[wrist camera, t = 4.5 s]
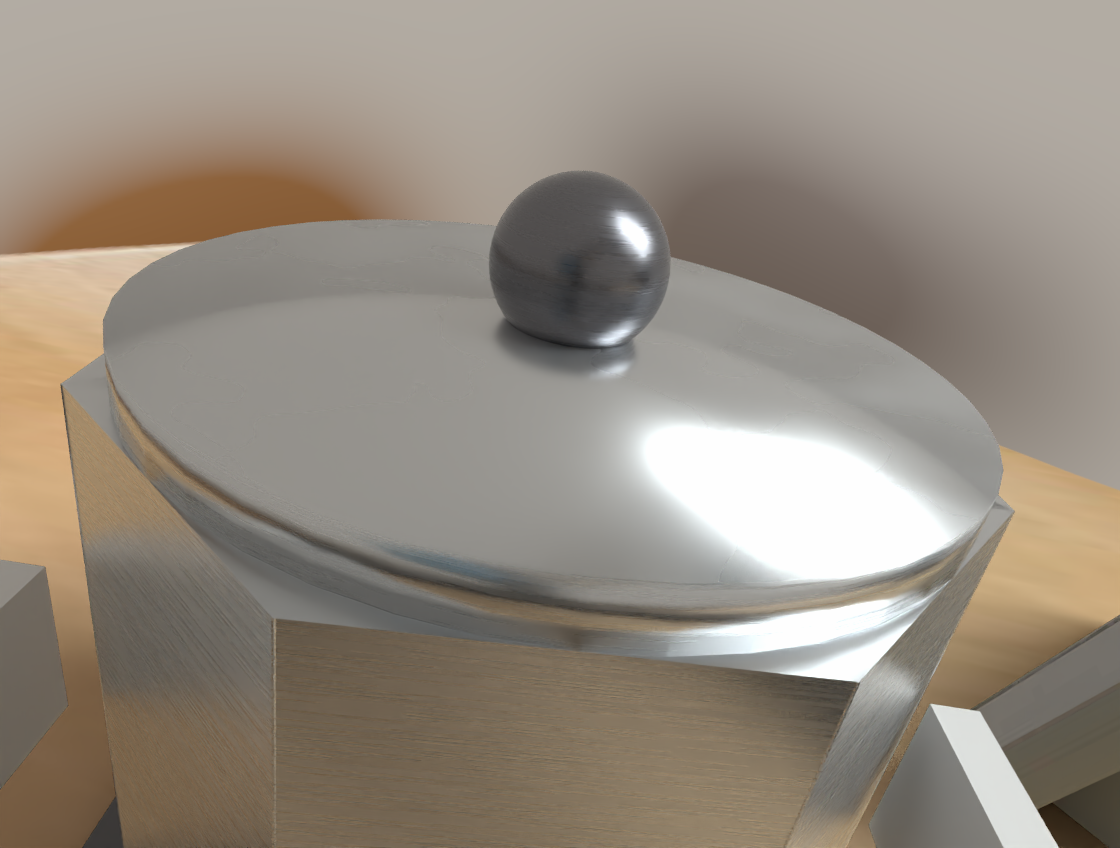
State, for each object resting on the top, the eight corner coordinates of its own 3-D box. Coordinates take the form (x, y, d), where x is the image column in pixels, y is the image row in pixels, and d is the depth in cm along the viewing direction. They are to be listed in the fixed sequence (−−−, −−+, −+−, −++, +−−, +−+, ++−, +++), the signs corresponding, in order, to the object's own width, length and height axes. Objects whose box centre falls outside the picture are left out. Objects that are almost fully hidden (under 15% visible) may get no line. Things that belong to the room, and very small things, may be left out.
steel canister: (695, 674, 23) (854, 176, 16) (834, 1246, 12) (1450, 432, 6) (279, 629, 22) (280, 77, 15) (18, 1214, 11) (-335, 161, 5)
